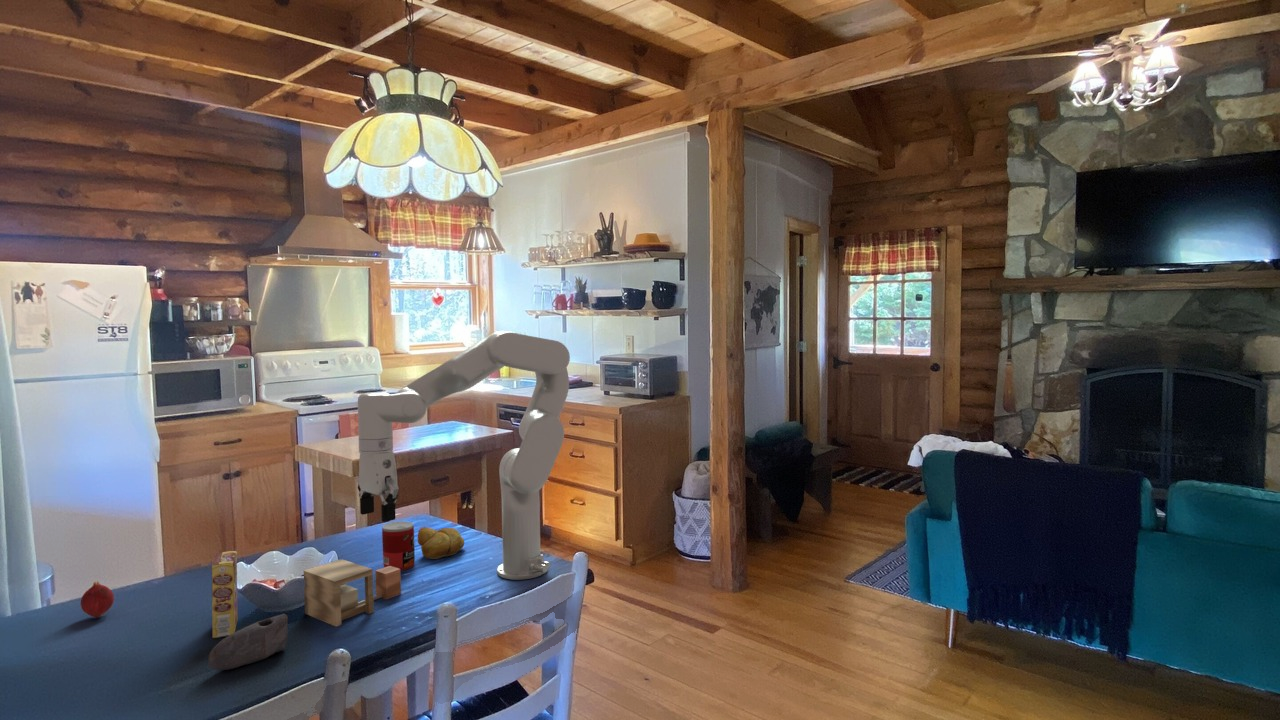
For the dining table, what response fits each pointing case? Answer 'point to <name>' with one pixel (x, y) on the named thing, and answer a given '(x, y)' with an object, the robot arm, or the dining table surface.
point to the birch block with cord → (385, 588)
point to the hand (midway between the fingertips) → (377, 516)
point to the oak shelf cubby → (335, 590)
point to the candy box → (224, 594)
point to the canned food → (398, 545)
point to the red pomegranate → (97, 600)
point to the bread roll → (439, 542)
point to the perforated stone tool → (250, 644)
